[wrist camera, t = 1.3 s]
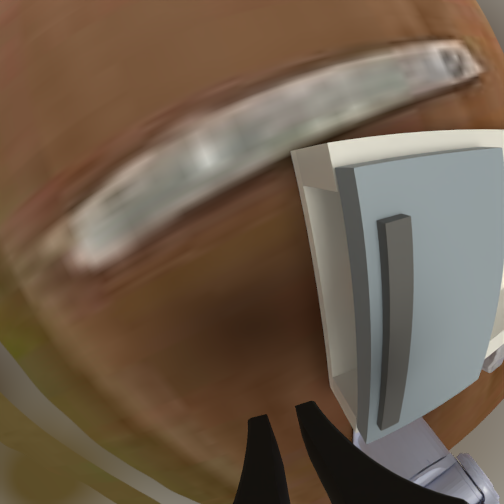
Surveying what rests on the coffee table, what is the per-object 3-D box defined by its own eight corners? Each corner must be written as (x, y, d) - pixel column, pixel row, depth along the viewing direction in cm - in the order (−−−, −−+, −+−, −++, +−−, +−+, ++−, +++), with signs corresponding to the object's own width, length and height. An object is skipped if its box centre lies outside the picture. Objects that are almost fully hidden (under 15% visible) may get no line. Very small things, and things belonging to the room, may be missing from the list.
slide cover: (466, 368, 16) (482, 382, 14) (356, 427, 15) (369, 450, 13) (481, 146, 11) (510, 148, 9) (334, 167, 10) (362, 168, 8)
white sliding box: (506, 292, 22) (538, 310, 17) (329, 386, 21) (355, 433, 16) (507, 130, 17) (548, 132, 12) (290, 151, 16) (327, 142, 10)
